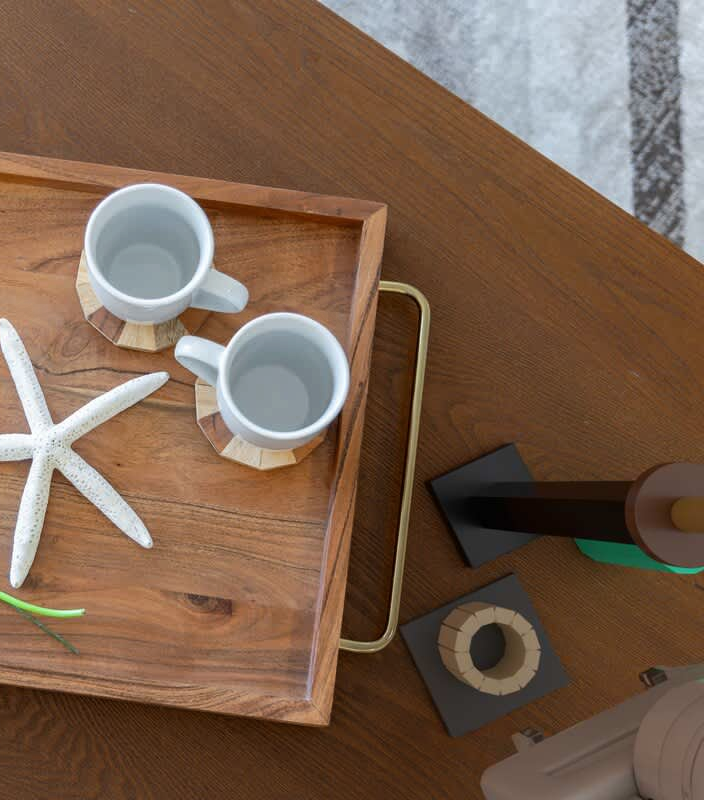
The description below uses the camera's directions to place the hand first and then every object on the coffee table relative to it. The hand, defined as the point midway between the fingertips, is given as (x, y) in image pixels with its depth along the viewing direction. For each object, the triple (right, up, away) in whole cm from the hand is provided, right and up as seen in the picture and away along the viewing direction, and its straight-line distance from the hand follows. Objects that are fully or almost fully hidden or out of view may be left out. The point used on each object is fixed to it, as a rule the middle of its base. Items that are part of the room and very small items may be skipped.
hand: (588, 710), depth 58 cm
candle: (+11, +10, +18) cm, 23 cm away
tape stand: (+1, +11, +18) cm, 21 cm away
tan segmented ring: (0, 0, +16) cm, 16 cm away
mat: (0, -1, +17) cm, 17 cm away
